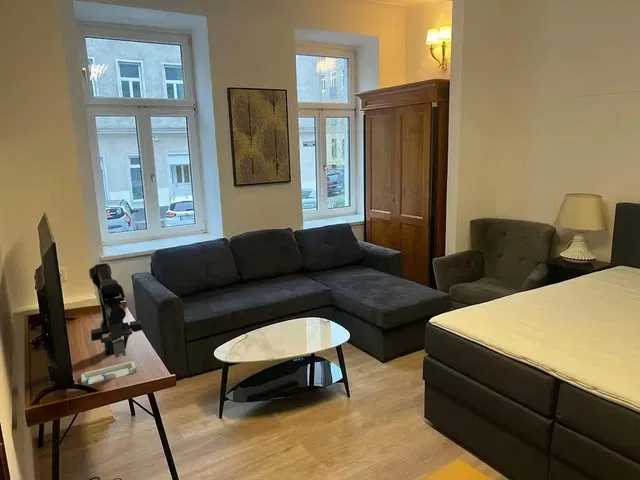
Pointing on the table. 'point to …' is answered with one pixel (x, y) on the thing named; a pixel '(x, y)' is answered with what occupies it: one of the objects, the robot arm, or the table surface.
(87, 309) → the table surface
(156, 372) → the table surface
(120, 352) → the cord plug
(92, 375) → the long open trough
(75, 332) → the table surface
